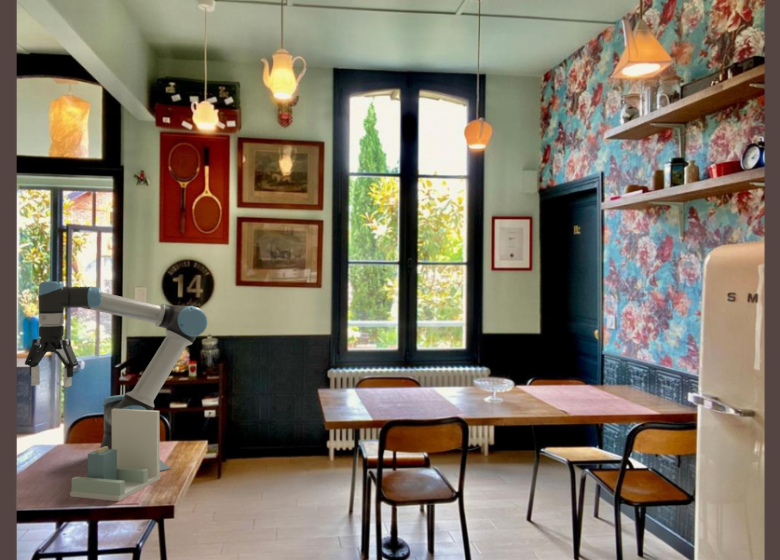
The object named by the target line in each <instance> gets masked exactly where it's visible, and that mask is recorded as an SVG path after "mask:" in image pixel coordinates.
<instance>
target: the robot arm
mask: <svg viewBox="0 0 780 560" xmlns="http://www.w3.org/2000/svg"><path fill="white" fill-rule="evenodd" d="M64 284H65V283H64V282H63V281H41V282H39V284H38V295H37V296H38V297H37V298H38V300H37V301H38V325H40V326H39V327H38V337H39V338H33V339H32V341H31V347H30V349H29V351H28V354H27V356H26V358H25V360H24V365H25V366H28V367H29V373H30V374H29V375H30V376H31V378H30V379H31V382H30V383H31V384H30V385H31V387H34V386H39V385H40V384H41V383H40V382H41V381H40V378H41V377H40V376H41V374H40V373H41V372H40V371H41V370H40V362H41V361H42V359H43V358H44V357H45V355H46V354H47V353H53V354H56V355H57V357H58V358H59V360H60V361H61V363H62V364H63V365H64V368H63V388H69V387H71V386H72V385H73V381H72V380H73V379H72V378H73V377H74V367H77V366H79V361H78V359H77V356H76V355H75V352H74V349H73V348H72V344H71V343H72V342H71V339H70V338H67V339H63V336H64V335H65V331H64V330H65V329H64V328H65V327H64V323H65V322H64V321H65V317H64V313H65V312H64V309H70V308H71V309H76V308H77V309H78V308H79V309H85V310H92V311H96V312H99V313H100V312H101V313H105V314H108V315H114V316H119V317H124V318H129V319H133V320H137V321H142V322H147V323H151V324H154V326H155V327H159V328H163V329H165V331H164V332H165V334H166V336H165V338H164V339H163V341H162V342H161V345H160V346H159V347H158V349H157V350H156V352H155V354H154V356H153V357H152V359H151V361H149V364H148V365H147V366H146V368H145V370H144V371H143V373H142V375H141V377H140V378H139V379H138V381H137V382H136V384H135V386H134V388H133V389H132V390H131V391H128V392H126V393H125V394H119V395H112V396H107V397H105V398H104V401H103V436H102V441H101V443H100V447H99V449H100V448H102V447H105V446H108V449H112V409H134V410H153V411H154V408H155V403H154V401H155V399H156V397H157V396H158V394H159V392H160V391H161V389H162V387H163V385H164V384H165V383H166V380H168V377H169V376H170V374H171V372H172V370H173V369H174V367H175V366H176V364H177V363H178V360H180V357H181V356H182V354H183V352H184V351H185V349H186V348H187V347H188V346H191V345H193V343H194V342H195V340H196V338H197V337H198V336H200V335H202V334H203V333H204V332H205V330H206V329H207V326H208V317H207V315H206V313H205V311H203V310H202V308H201V309H200V308H199V307H197V306H194V305H173V304H172V305H170V304H166V303H161V304H159V305H158V304H155V303H151V302H147V301H142V300H138V299H133V298H128V297H125V296H119V295H115V294H111V293H107V292H103V291H102V289H101V287H99V286H76V285H75V286H65V285H64Z"/></svg>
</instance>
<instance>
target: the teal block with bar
mask: <svg viewBox="0 0 780 560" xmlns="http://www.w3.org/2000/svg"><path fill="white" fill-rule="evenodd" d="M87 477H88V478H100V479H111V480H117V450H116V449H108V446H105V447H102V448H100V447H99V448H97V449H96V450H94V451H92V452H88V453H87Z"/></svg>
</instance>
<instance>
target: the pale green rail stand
mask: <svg viewBox="0 0 780 560" xmlns="http://www.w3.org/2000/svg"><path fill="white" fill-rule="evenodd" d="M160 428H161V427H160V410H154V409H153V410H134V409H112V449H116V450H117V480H111V479H100V478H88V476H78V475H77V476H74V477H72V478H71V491H70V493H69V497H70V498H71V497H72V498H73V497H74V498H82V499H83V498H84V499H89V500H90V499H91V500H103V501H111V502H112V501H114V502H120V501H123V500H124V499H126V498H128V497H129V496H132V495H133V494H135V493H137V492H139V491H141V490H142V489H143V490H144V489H145V488H146V487H148V486H149V485H151V484H153V483H154V484H155V482H157V481H159V480H160V479H161V472H160V460H161V459H160V457H161V456H160V454H161V453H160V451H161V450H160V449H161V448H160V441H161V440H160V439H161V437H160V436H161V435H160Z"/></svg>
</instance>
